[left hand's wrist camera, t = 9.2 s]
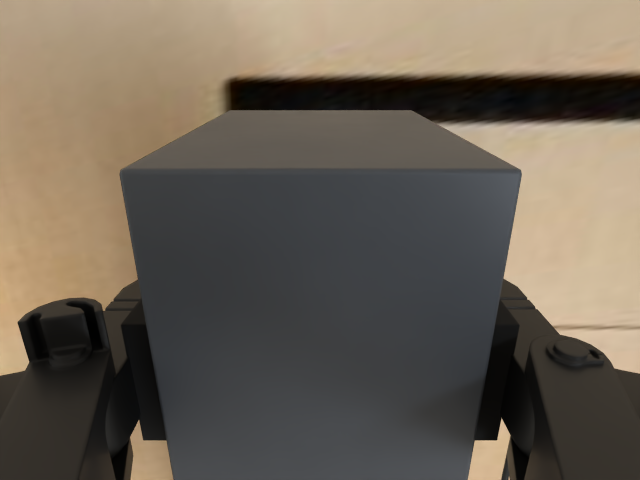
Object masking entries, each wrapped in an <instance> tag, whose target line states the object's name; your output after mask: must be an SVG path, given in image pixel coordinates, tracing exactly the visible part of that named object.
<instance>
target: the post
mask: <svg viewBox="0 0 640 480" xmlns="http://www.w3.org/2000/svg"><path fill="white" fill-rule="evenodd" d="M521 176H522V173H521V170H520V169H518V168H516V167H514V166H513V165H511V164H509V163H507V162H505V161H503V160H502V159H500V158H498V157H496V156H494V155H492V154H491V153H489V152H487V151H485V150H483V149H481V148H479V147H478V146H476V145H474V144H472V143H470V142H468V141H467V140H465V139H463V138H461V137H459V136H457V135H456V134H454V133H452V132H450V131H448V130H446V129H444V128H443V127H441V126H439V125H437V124H435V123H433V122H432V121H430V120H428V119H426V118H424V117H422V116H421V115H419V114H417V113H415V112H413V111H411V110H230V111H228V112H226V113H224V114H222V115H220V116H219V117H217V118H215V119H213V120H211V121H209V122H208V123H206V124H204V125H202V126H200V127H198V128H197V129H195V130H193V131H191V132H189V133H187V134H186V135H184V136H182V137H180V138H178V139H176V140H175V141H173V142H171V143H169V144H167V145H165V146H164V147H162V148H160V149H158V150H156V151H154V152H153V153H151V154H149V155H147V156H145V157H143V158H142V159H140V160H138V161H136V162H134V163H132V164H131V165H129V166H127V167H125V168H123V169H121V171H120V179H121V185H122V191H123V196H124V202H125V208H126V213H127V219H128V225H129V230H130V236H131V242H132V247H133V253H134V259H135V264H136V270H137V276H138V281H139V287H140V293H141V298H142V304H143V310H144V315H145V321H146V326H147V332H148V338H149V343H150V349H151V355H152V360H153V366H154V372H155V377H156V383H157V389H158V394H159V400H160V406H161V411H162V417H163V423H164V428H165V434H166V440H167V445H168V451H169V457H170V462H171V468H172V474H173V479H174V480H468V474H469V469H470V463H471V457H472V452H473V446H474V440H475V435H476V429H477V424H478V418H479V412H480V407H481V401H482V395H483V390H484V384H485V379H486V373H487V367H488V362H489V356H490V350H491V345H492V339H493V334H494V328H495V322H496V317H497V311H498V305H499V300H500V294H501V289H502V283H503V277H504V272H505V266H506V260H507V255H508V249H509V244H510V238H511V232H512V227H513V221H514V215H515V210H516V204H517V199H518V193H519V187H520V182H521Z"/></svg>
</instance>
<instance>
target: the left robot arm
mask: <svg viewBox="0 0 640 480" xmlns="http://www.w3.org/2000/svg"><path fill="white" fill-rule="evenodd" d="M18 326H19V329H20V332H21V336H22V339H23V342H24V345H25V349H26V352H27V355H28V359H29V364H28V366H27V368H26V370H25V371H22V372H18V373H13V374H7V375H2V376H0V480H130V478H131V470H132V462H133V451H132V445H131V441H130V436H131V434H132V432H133V430H134V428H135V426H136V424H137V422H138V420H139V421H140V426H141V431H142V436H143V440H166V434H165V428H164V423H163V417H162V411H161V406H160V400H159V394H158V389H157V383H156V377H155V372H154V366H153V360H152V355H151V349H150V343H149V338H148V332H147V326H146V321H145V315H144V310H143V304H142V298H141V293H140V287H139V281H138V280H137V281H135V282H133V283H131V284H130V285H128V286H126V287H125V288H123V289H122V290H121V291H120V293H119V294H118V295H117V296H116V297H115V298H114V301H113V302H111V303H110V304H109V305H108V306H107V307H106V310H105V311H103V309H102V305H101V304H100V303H99V302H97V301H96V300H94V299H88V298H69V299H64V300H59V301H54V302H51V303H48V304H45V305H43V306H40V307H38V308H36V309H34V310H32V311H30V312H29V313H27V314H25V315H24V316H23V317H22V318H21V319H20V320H19V321H18ZM501 417H502V419H503V421H504V423H505V425H506V427H507V429H508V431H509V433H510V435H511V436H510V441H509V445H508V450H507V455H506V459H505V464H504V469H503V473H502V479H501V480H508V478H509V477H510V480H640V374H638V373H633V372H628V371H622V370H618V369H614V367H613V365H612V363H611V362H610V360H609V359H608V358H607V357H606V356H605V354H604V353H603V352H601V351H600V350H598V349H597V348H595V347H594V346H592V345H590V344H588V343H586V342H583V341H581V340H579V339H576V338H572V337H567V336H563V335H560V334H559V333H558V332H557V331H556V330H555V329H554V328H553V327H552V325H551V324H550V323H549V322H548V321H547V320H546V319H545V317H544V316H543V315H542V314H541V313H540V312H539V311H538V310H537V309H535V306H534V305H533V304H532V303H531V302H530V301H529V300H527V297H526V296H525V295H524V294H523V293H522V291H521V290H520V289H519V288H518V287H517V286H515V285H513V284H512V283H510V282H508V281H506V280H505V279H503V283H502V289H501V294H500V300H499V305H498V311H497V317H496V322H495V328H494V334H493V339H492V345H491V350H490V356H489V362H488V367H487V373H486V379H485V384H484V390H483V395H482V401H481V407H480V412H479V418H478V424H477V429H476V435H475V440H497V437H498V432H499V427H500V422H501Z"/></svg>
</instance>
